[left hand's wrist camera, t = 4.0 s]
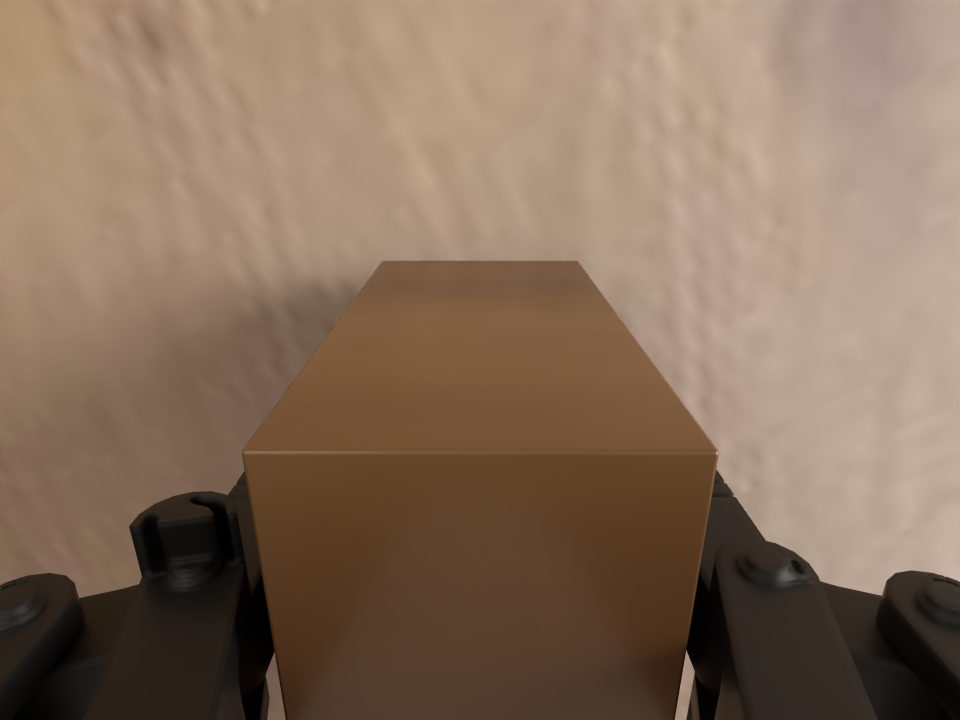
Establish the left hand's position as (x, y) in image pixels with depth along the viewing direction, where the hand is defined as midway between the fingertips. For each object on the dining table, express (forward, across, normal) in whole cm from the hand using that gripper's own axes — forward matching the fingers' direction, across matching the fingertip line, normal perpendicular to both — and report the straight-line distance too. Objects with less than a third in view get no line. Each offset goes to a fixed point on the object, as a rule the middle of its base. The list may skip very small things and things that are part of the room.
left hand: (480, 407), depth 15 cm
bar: (+1, 0, -9) cm, 9 cm away
